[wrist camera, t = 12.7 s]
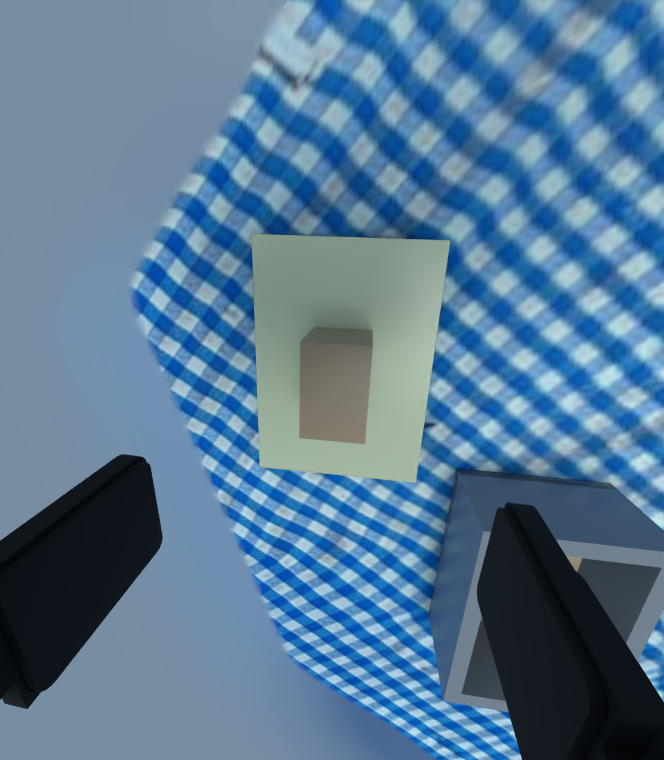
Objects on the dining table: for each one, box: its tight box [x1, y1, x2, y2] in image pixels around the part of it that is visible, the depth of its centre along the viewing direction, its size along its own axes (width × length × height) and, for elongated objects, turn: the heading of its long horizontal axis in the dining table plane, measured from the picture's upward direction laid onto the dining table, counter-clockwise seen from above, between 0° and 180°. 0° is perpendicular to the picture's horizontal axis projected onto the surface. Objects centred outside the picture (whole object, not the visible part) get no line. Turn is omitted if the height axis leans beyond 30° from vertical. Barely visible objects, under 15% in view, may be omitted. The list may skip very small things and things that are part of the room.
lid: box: [252, 234, 450, 483], centre depth 22 cm, size 18×13×8 cm
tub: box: [429, 469, 664, 712], centre depth 26 cm, size 17×12×7 cm
